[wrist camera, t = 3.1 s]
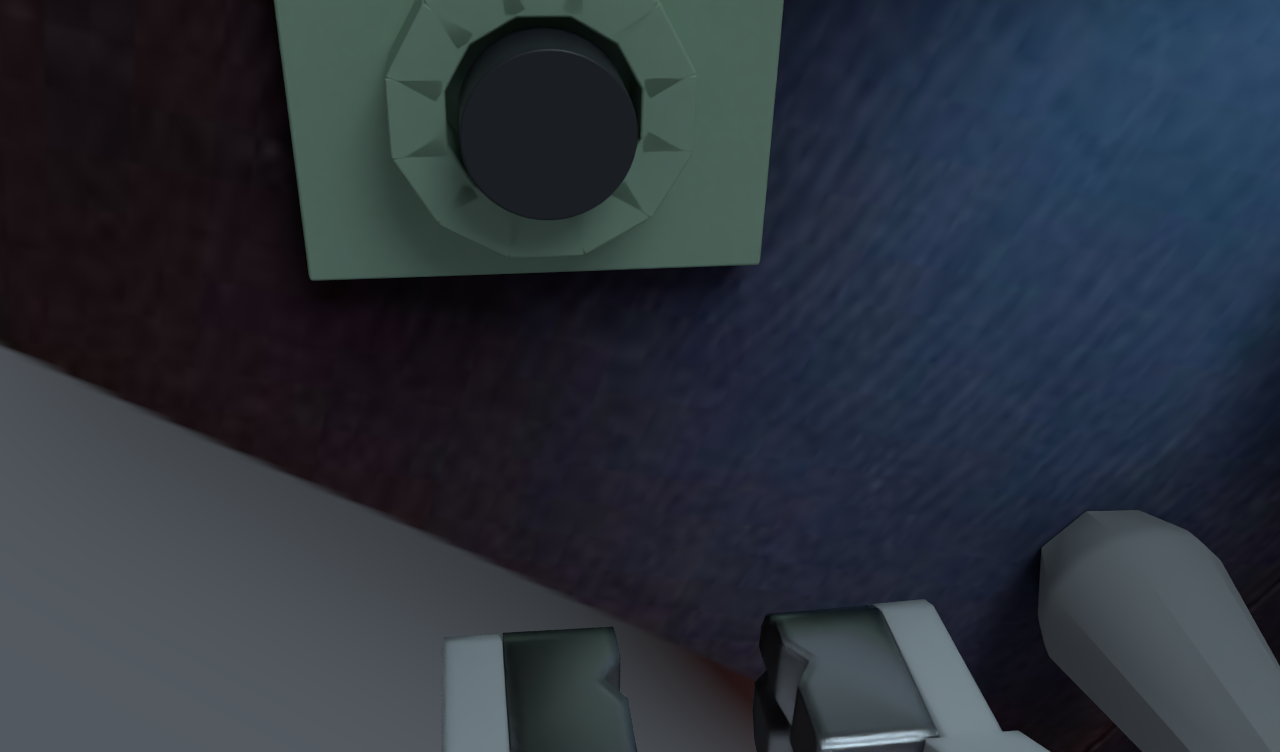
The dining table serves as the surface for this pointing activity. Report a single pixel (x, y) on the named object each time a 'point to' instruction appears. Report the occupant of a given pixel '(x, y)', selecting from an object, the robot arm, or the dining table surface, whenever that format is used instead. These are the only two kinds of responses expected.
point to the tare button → (546, 124)
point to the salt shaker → (1158, 635)
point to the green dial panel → (430, 148)
